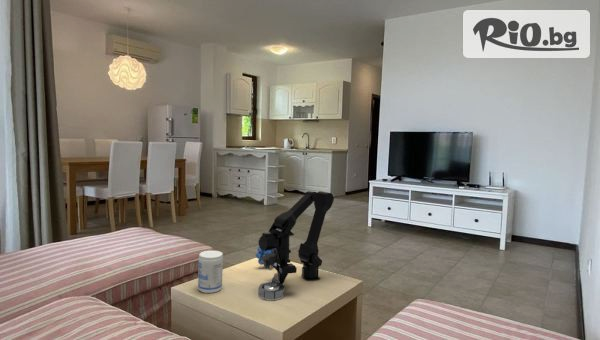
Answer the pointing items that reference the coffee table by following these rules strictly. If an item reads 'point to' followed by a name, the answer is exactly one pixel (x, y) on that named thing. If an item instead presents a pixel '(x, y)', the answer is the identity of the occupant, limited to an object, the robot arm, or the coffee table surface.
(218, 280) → the supplement tub
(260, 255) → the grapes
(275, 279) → the grey octagonal frying pan
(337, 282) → the coffee table surface
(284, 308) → the coffee table surface
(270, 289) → the grey metal bowl
